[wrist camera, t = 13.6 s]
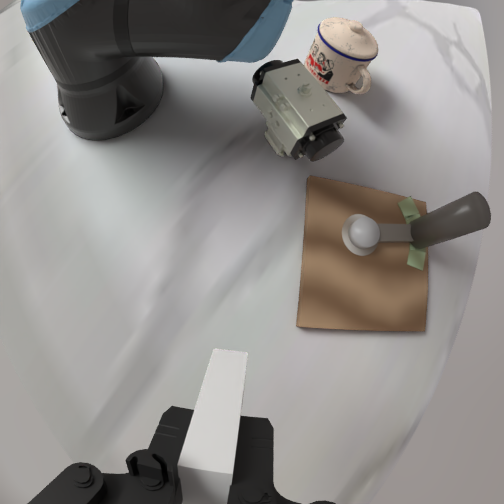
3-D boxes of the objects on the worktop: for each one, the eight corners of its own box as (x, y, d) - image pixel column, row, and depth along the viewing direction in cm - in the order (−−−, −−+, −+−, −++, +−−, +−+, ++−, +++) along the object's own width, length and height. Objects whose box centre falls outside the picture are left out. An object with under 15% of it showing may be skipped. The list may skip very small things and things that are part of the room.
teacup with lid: (292, 56, 42) (312, 3, 31) (338, 53, 44) (364, 6, 33) (327, 114, 41) (360, 63, 30) (374, 106, 43) (411, 62, 31)
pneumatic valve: (271, 103, 40) (293, 43, 28) (320, 171, 39) (360, 123, 27) (237, 117, 39) (249, 55, 27) (285, 188, 38) (317, 141, 26)
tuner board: (307, 177, 39) (310, 173, 37) (421, 203, 41) (426, 200, 39) (296, 326, 35) (299, 326, 34) (419, 330, 37) (425, 331, 36)
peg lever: (349, 251, 36) (409, 226, 24) (346, 218, 37) (401, 182, 25) (429, 249, 38) (493, 228, 26) (425, 220, 39) (486, 193, 27)
